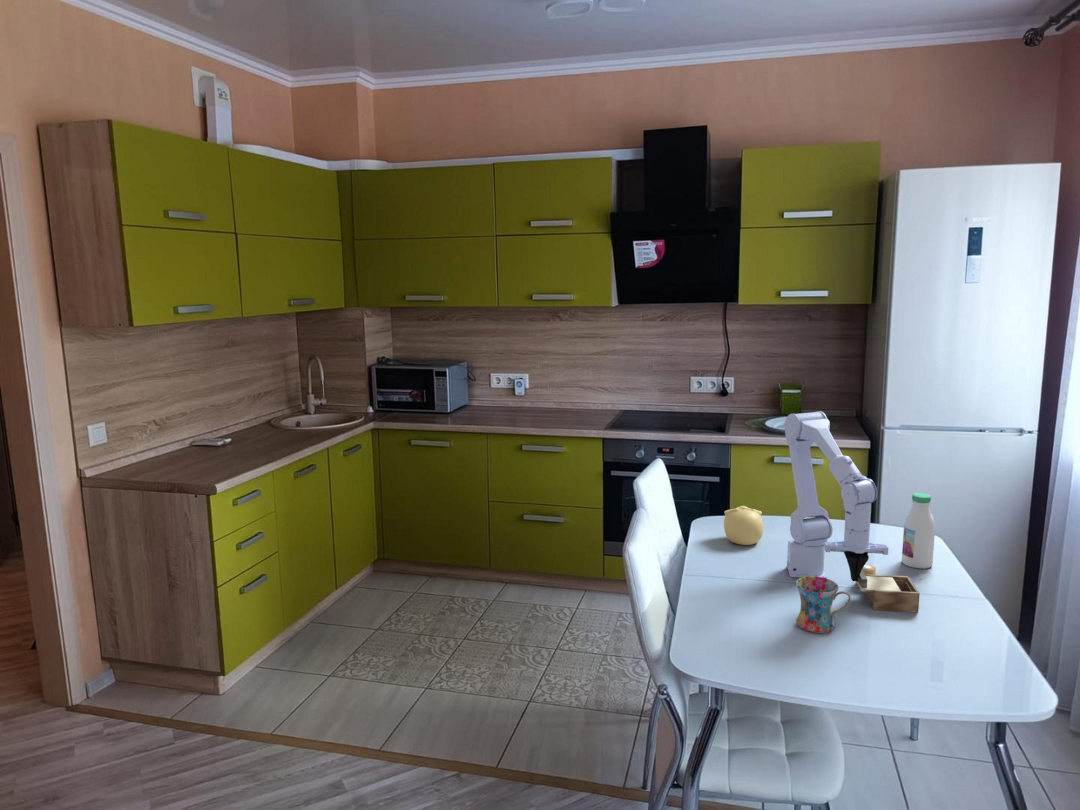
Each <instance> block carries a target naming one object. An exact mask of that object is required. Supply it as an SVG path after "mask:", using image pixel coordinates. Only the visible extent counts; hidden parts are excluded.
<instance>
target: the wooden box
mask: <svg viewBox="0 0 1080 810" xmlns="http://www.w3.org/2000/svg"><path fill="white" fill-rule="evenodd" d="M866 576H873V577H892V578H893V579H894V581H895V582H896V584H897V586H898V587H899V589H900V590H901V591H885V590H875V592H869V591H864V594H865V596H866V597H867V599H868V601H869V602H870V604H871V607H872V606H873V607H872V609H873V608H874V609H873V610H874V611H888V612H903V613H904V612H906V613H908V612H909V613H919V609H920V608H919V606H920V594H921V593H920V592H919V590H918V589H917V587H916V585H915V584H914V583H913V582H912V580H911V578H910V577H909V576H907V575H906V576H905V575H887V574H885V575H884V574H876V575H868V574H866Z"/></svg>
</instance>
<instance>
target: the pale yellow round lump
mask: <svg viewBox="0 0 1080 810" xmlns="http://www.w3.org/2000/svg"><path fill="white" fill-rule="evenodd" d="M723 512H724V515H725V516H724V518H723V529H724V533H725V536H726V538H727V539H728V541H730V542H731V543H734V544H737V545H741V546H742V545H743V546H751V545H754V544H757V543H758V542H760V540H761V539H762V537H763V535H764V534H763V533H764V523H763V519H762V514H763V512H762V511H761V510H758V509H756V508H755V509H754V508H750V507H748V506H746V505H740V506H739V505H738V507H736V508H730V509H727V510H724V511H723Z"/></svg>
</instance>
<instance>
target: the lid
mask: <svg viewBox="0 0 1080 810" xmlns="http://www.w3.org/2000/svg"><path fill="white" fill-rule="evenodd" d="M857 583H858V585H859V587H858V588H859V589H860V591H861V592H865V591H869V592H875V590H885V591H901V590H900V589H899V587H898V586H897V584H896V582H895V581H894V579H893V578H892V577H873V576H865V574H864V572H863V571H861V573H860V576H859V579H858V581H857Z"/></svg>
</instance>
